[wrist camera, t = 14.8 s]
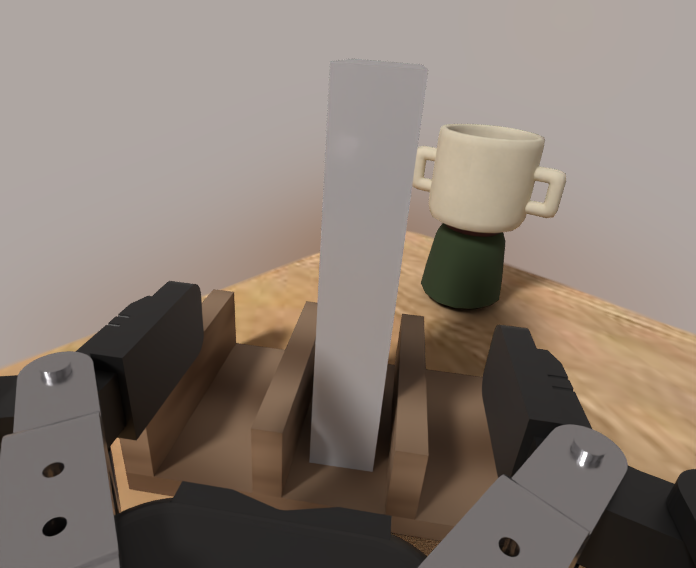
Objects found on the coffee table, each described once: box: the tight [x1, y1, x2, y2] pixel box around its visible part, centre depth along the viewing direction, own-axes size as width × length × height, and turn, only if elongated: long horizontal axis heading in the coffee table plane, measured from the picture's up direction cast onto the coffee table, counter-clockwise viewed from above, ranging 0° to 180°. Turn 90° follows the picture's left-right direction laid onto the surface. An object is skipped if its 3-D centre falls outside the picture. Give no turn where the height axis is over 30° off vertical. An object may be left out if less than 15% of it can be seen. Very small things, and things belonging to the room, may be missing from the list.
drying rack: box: [119, 290, 498, 541], centre depth 23 cm, size 10×17×4 cm, turn 83°
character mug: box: [412, 124, 566, 309], centre depth 35 cm, size 11×7×13 cm, turn 58°
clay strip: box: [309, 59, 428, 472], centre depth 20 cm, size 6×3×16 cm, turn 173°
